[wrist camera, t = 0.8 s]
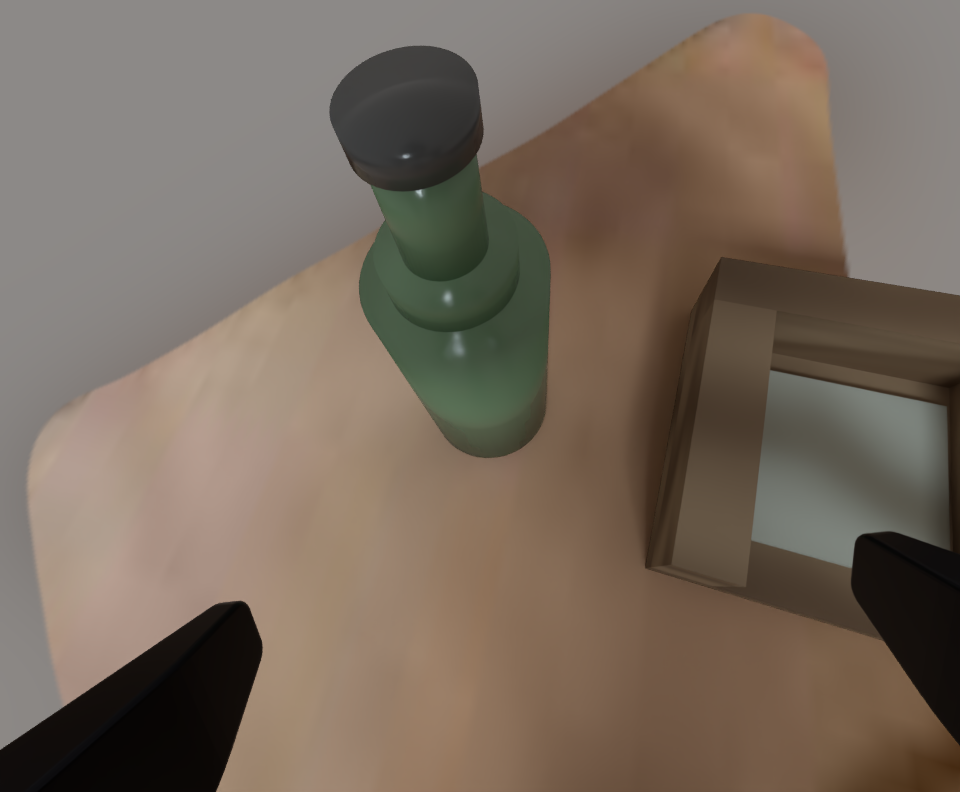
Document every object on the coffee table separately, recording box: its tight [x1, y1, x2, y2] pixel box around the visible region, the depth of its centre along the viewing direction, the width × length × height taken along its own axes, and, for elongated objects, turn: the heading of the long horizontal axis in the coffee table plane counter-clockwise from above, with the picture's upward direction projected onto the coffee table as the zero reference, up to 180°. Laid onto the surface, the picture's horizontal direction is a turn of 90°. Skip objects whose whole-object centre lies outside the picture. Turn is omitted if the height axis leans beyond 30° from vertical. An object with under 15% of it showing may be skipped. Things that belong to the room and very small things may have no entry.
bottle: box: [330, 46, 550, 458], centre depth 15 cm, size 5×5×15 cm
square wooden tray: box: [646, 257, 960, 641], centre depth 17 cm, size 12×12×4 cm
